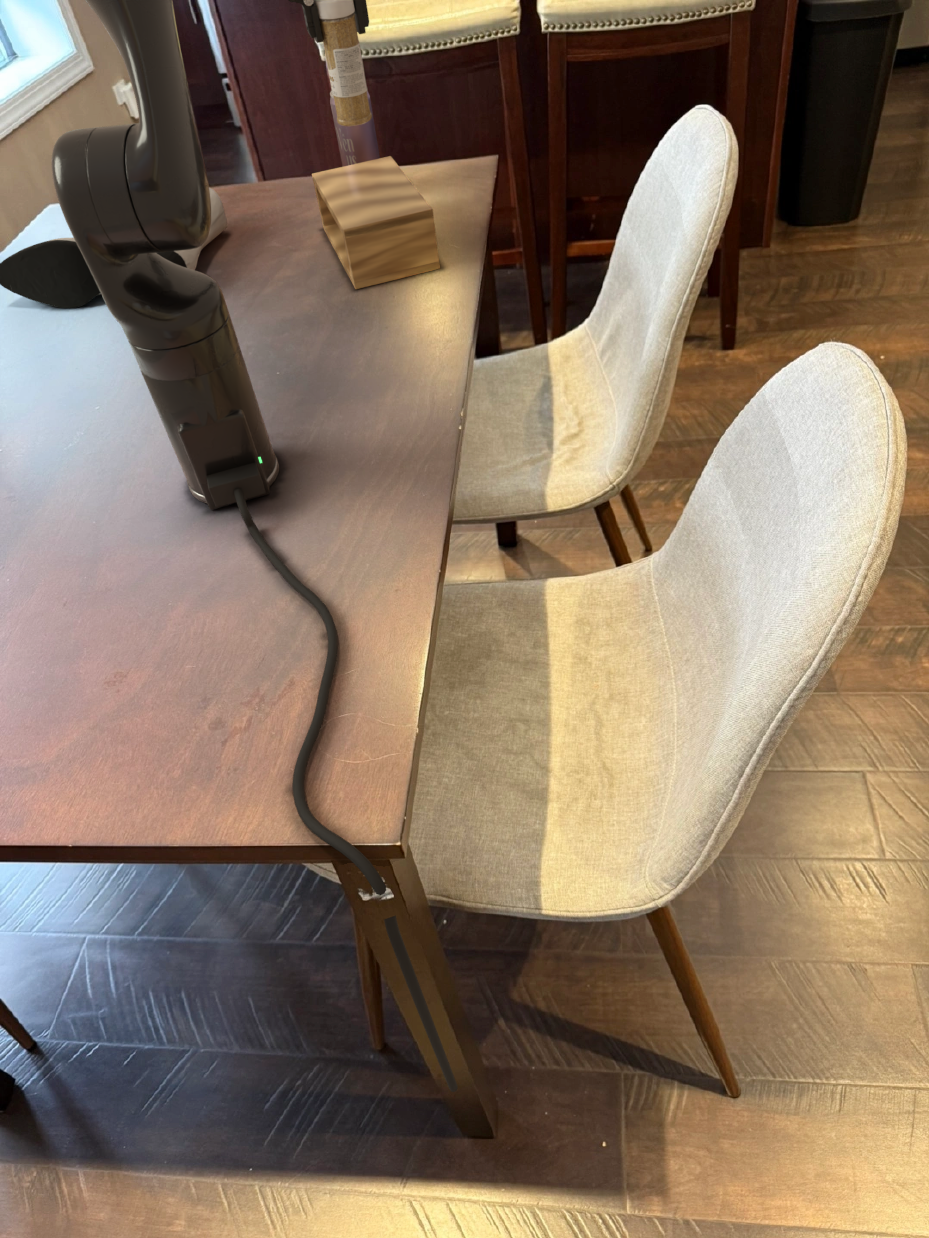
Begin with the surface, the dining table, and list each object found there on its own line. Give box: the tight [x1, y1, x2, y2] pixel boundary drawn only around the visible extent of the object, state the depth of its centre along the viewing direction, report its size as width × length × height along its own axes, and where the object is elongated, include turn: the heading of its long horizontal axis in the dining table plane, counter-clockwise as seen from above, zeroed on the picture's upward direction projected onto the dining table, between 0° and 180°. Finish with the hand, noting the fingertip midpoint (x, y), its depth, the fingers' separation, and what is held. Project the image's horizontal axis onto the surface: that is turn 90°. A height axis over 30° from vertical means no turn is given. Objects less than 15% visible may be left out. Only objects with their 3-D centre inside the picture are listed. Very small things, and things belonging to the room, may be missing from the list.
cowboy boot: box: [0, 187, 228, 309], centre depth 126 cm, size 10×28×25 cm
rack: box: [311, 155, 441, 290], centre depth 122 cm, size 22×12×8 cm, turn 18°
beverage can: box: [329, 90, 381, 167], centre depth 133 cm, size 6×6×15 cm
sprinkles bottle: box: [314, 0, 372, 126], centre depth 105 cm, size 5×5×13 cm
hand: (340, 36), depth 103 cm, fingers closed on sprinkles bottle, 4 cm apart
